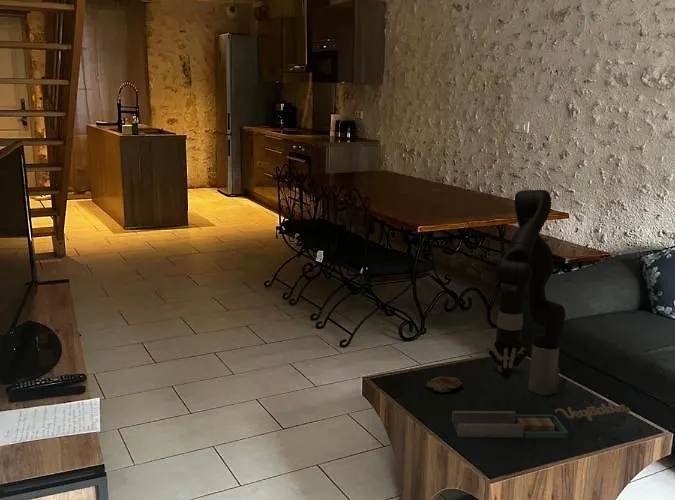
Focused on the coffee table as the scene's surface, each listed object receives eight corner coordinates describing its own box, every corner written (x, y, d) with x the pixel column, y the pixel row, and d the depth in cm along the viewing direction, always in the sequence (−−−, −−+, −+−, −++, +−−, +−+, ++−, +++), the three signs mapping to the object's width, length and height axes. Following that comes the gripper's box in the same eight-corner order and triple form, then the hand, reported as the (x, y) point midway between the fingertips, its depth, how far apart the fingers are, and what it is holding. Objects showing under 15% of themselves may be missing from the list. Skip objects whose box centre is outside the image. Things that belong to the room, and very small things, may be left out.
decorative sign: (570, 422, 211) (552, 409, 220) (570, 425, 211) (552, 411, 221) (638, 413, 219) (617, 400, 228) (637, 416, 219) (617, 403, 228)
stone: (438, 398, 230) (438, 390, 229) (421, 386, 238) (422, 378, 238) (468, 390, 236) (468, 382, 235) (451, 380, 245) (451, 372, 244)
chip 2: (548, 426, 208) (549, 418, 208) (553, 434, 203) (554, 425, 203) (532, 426, 208) (533, 418, 208) (537, 434, 203) (538, 425, 203)
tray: (553, 422, 212) (554, 414, 212) (567, 441, 201) (568, 432, 200) (513, 422, 212) (514, 414, 211) (525, 441, 200) (525, 432, 200)
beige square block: (532, 426, 208) (533, 418, 208) (537, 434, 203) (538, 425, 203) (516, 426, 208) (517, 417, 208) (521, 434, 203) (522, 425, 203)
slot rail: (512, 423, 211) (513, 410, 210) (523, 440, 201) (524, 426, 200) (451, 423, 211) (452, 410, 210) (458, 440, 200) (459, 426, 199)
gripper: (527, 320, 204) (522, 372, 207) (485, 321, 203) (481, 373, 207) (535, 329, 196) (530, 382, 200) (491, 329, 196) (488, 383, 200)
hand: (505, 377), depth 204 cm, fingers closed
